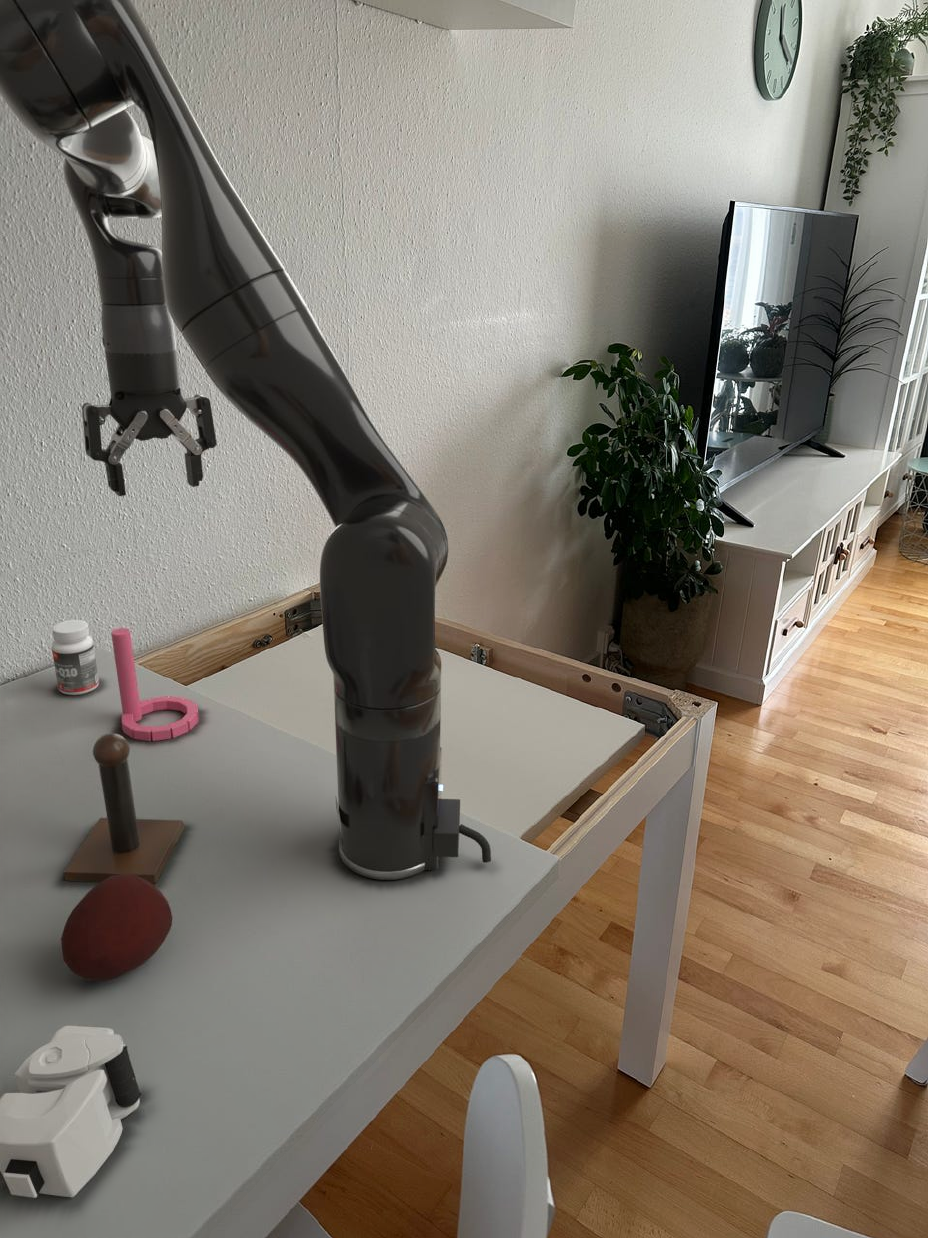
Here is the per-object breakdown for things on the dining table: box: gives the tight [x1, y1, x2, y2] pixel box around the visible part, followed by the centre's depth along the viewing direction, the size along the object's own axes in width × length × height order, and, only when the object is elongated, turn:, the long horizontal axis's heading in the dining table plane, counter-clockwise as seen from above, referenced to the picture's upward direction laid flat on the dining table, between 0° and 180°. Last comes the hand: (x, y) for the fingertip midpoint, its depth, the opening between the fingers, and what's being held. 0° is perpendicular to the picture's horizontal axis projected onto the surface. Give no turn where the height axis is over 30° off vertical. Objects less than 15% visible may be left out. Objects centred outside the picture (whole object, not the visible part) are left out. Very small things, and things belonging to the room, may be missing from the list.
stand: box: [63, 732, 185, 885], centre depth 80 cm, size 8×8×12 cm
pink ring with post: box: [110, 627, 200, 742], centre depth 102 cm, size 9×8×11 cm
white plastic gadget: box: [0, 1025, 142, 1199], centre depth 55 cm, size 6×7×10 cm
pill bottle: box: [51, 619, 100, 696], centre depth 110 cm, size 5×5×8 cm
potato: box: [60, 874, 173, 982], centre depth 69 cm, size 7×8×7 cm
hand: (158, 489), depth 105 cm, fingers open, 8 cm apart
